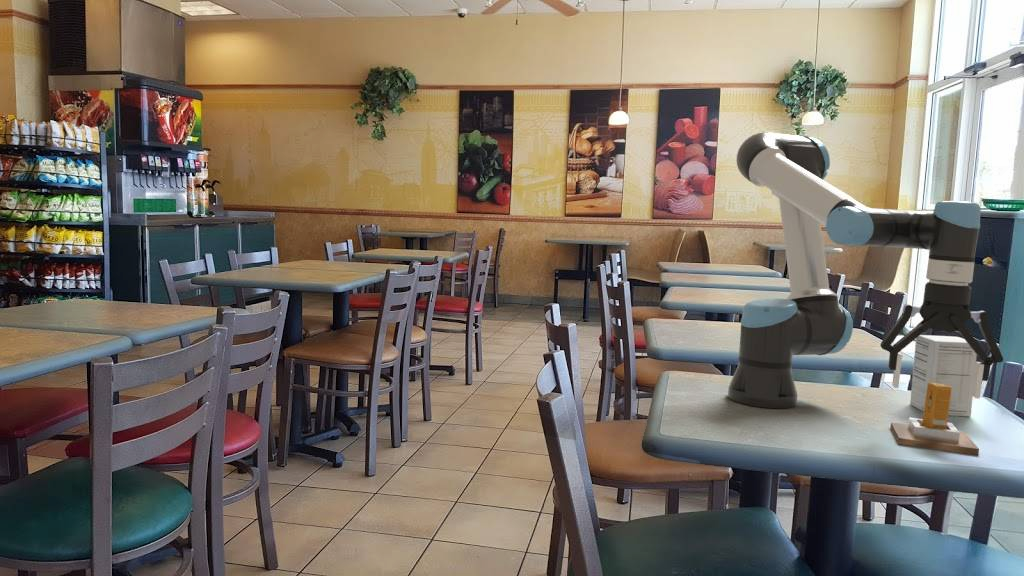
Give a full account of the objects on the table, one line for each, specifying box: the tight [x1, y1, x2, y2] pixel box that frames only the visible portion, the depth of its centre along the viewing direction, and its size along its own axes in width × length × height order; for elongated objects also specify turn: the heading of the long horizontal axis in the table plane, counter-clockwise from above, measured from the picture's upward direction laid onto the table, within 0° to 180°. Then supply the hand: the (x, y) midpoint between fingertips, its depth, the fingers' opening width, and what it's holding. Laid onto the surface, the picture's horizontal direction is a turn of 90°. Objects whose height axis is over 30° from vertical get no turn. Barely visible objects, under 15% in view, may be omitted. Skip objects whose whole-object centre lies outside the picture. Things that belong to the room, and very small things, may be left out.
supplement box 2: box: [922, 383, 952, 429], centre depth 136 cm, size 3×3×10 cm
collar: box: [908, 417, 960, 443], centre depth 137 cm, size 7×7×2 cm
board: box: [890, 421, 980, 456], centre depth 137 cm, size 13×12×1 cm
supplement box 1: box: [909, 334, 978, 417], centre depth 161 cm, size 10×9×17 cm
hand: (934, 391), depth 137 cm, fingers open, 13 cm apart
